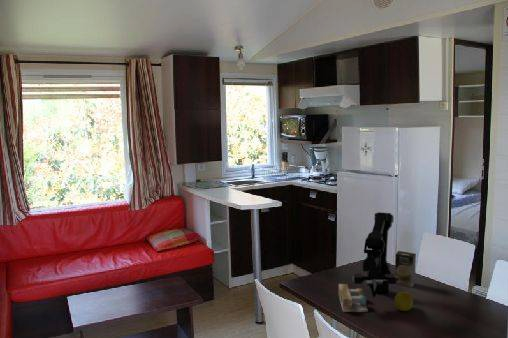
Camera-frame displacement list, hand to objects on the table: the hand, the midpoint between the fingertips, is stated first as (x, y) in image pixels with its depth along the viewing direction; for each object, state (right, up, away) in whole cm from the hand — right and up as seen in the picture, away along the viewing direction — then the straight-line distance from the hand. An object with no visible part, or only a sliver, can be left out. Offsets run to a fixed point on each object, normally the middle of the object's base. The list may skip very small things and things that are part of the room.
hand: (373, 296), depth 204 cm
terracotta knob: (-8, -3, +9) cm, 12 cm away
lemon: (+13, -5, -3) cm, 14 cm away
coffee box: (+23, -1, +27) cm, 36 cm away
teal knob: (-9, -4, +1) cm, 9 cm away
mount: (-9, -5, +5) cm, 11 cm away
